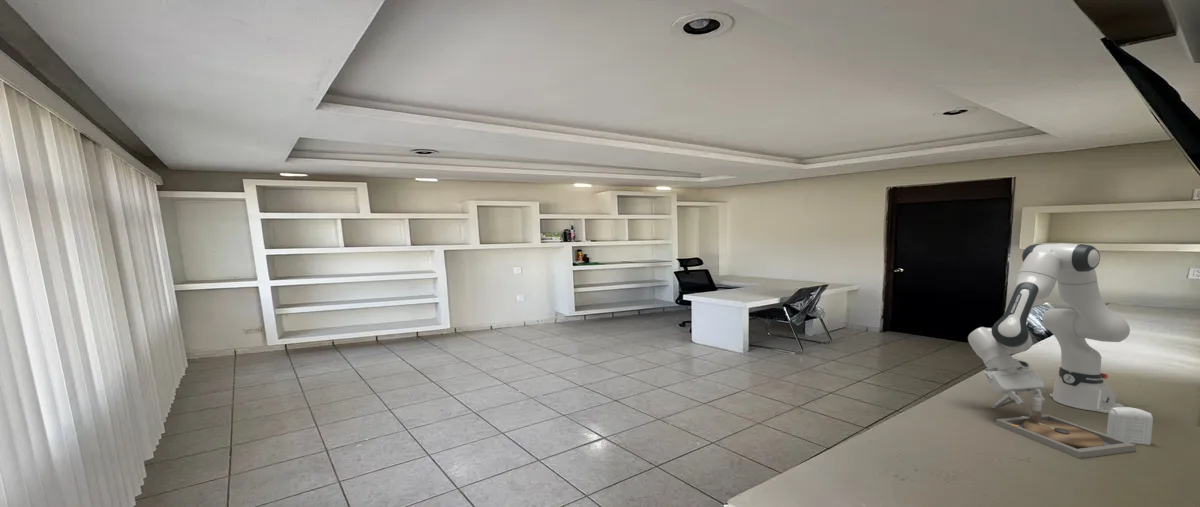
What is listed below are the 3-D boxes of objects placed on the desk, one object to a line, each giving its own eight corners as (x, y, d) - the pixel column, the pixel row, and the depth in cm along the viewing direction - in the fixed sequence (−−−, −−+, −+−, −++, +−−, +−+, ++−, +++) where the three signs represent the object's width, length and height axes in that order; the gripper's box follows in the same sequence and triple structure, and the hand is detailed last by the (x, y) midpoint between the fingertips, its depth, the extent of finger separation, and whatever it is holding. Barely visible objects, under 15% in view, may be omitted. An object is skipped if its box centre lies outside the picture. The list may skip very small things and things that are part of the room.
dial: (1119, 447, 144) (1121, 415, 143) (1075, 453, 140) (1077, 420, 139) (1049, 422, 162) (1051, 394, 162) (1008, 426, 158) (1010, 397, 158)
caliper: (1013, 399, 188) (1014, 385, 187) (1017, 400, 187) (1018, 386, 186) (991, 408, 178) (992, 393, 178) (994, 409, 177) (995, 394, 177)
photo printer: (1142, 442, 150) (1145, 407, 149) (1153, 448, 146) (1156, 412, 145) (1103, 438, 153) (1105, 403, 152) (1113, 444, 149) (1116, 408, 148)
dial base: (1046, 422, 165) (1046, 413, 165) (1135, 454, 142) (1136, 444, 142) (995, 427, 160) (995, 418, 160) (1078, 462, 137) (1079, 451, 137)
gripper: (988, 365, 164) (1016, 400, 155) (1031, 362, 168) (1061, 397, 159) (975, 373, 169) (1001, 408, 160) (1017, 370, 173) (1045, 404, 164)
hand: (1031, 402), depth 159 cm, fingers open, 8 cm apart
